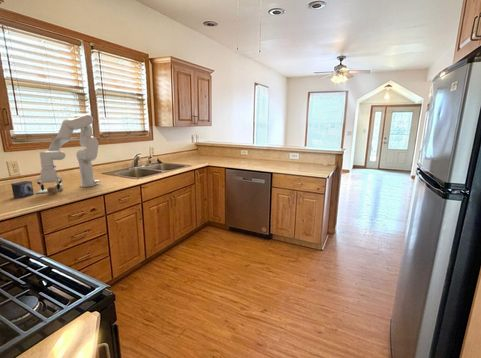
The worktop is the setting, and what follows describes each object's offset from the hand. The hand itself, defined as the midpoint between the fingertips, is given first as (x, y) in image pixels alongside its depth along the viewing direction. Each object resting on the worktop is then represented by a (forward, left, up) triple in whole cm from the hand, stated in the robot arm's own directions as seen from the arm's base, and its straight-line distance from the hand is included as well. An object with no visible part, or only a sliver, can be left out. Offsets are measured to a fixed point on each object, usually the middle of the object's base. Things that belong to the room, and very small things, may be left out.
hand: (50, 189), depth 199 cm
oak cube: (-4, -9, -4) cm, 11 cm away
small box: (+17, -2, -4) cm, 18 cm away
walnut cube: (-1, 0, -4) cm, 4 cm away
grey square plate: (+5, -9, -3) cm, 11 cm away
